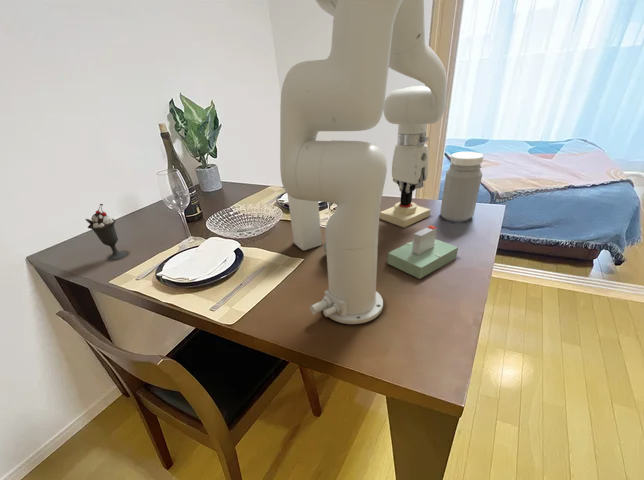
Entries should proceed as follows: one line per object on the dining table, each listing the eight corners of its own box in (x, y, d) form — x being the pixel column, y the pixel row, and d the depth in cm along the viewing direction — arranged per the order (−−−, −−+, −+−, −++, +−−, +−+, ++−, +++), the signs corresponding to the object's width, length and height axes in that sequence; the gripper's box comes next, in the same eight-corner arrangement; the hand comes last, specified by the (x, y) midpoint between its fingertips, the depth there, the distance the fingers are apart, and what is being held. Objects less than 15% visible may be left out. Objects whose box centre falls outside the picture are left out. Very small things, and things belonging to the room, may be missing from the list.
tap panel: (420, 279, 75) (421, 267, 73) (386, 263, 82) (387, 252, 80) (456, 258, 82) (458, 246, 80) (423, 244, 89) (424, 234, 87)
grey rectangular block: (418, 255, 78) (420, 235, 75) (411, 252, 79) (413, 232, 76) (434, 247, 81) (437, 227, 78) (427, 244, 82) (430, 224, 79)
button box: (404, 227, 98) (405, 214, 96) (379, 218, 105) (380, 206, 102) (429, 216, 104) (431, 203, 101) (404, 208, 110) (405, 196, 108)
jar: (469, 224, 96) (483, 160, 86) (435, 220, 101) (444, 158, 90) (475, 213, 103) (489, 151, 92) (443, 209, 107) (452, 149, 97)
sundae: (135, 251, 98) (112, 201, 89) (118, 262, 92) (93, 211, 84) (117, 249, 99) (93, 201, 90) (99, 260, 94) (73, 210, 85)
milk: (303, 251, 90) (293, 168, 77) (293, 243, 95) (282, 163, 82) (322, 245, 93) (315, 163, 79) (312, 237, 97) (304, 158, 84)
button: (405, 212, 101) (406, 207, 100) (396, 209, 103) (397, 204, 102) (413, 209, 102) (414, 204, 101) (404, 206, 105) (405, 201, 104)
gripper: (442, 139, 88) (433, 206, 99) (399, 134, 98) (395, 195, 108) (424, 145, 84) (417, 213, 95) (381, 138, 94) (379, 201, 105)
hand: (405, 203), depth 102 cm, fingers closed
